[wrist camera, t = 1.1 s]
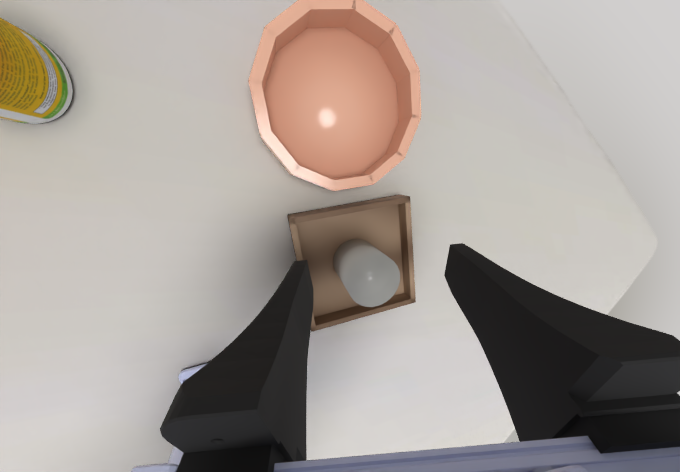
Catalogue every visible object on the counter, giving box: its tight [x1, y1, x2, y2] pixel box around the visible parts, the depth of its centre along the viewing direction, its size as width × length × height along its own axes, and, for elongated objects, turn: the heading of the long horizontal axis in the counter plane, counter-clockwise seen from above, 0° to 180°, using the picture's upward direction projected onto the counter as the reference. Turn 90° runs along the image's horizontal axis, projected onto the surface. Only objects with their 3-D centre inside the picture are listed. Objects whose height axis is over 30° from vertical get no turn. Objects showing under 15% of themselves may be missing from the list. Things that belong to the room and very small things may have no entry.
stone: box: [333, 239, 400, 307], centre depth 21 cm, size 4×4×5 cm
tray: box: [288, 195, 416, 332], centre depth 23 cm, size 11×11×2 cm
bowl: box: [249, 0, 421, 191], centre depth 19 cm, size 13×13×3 cm
